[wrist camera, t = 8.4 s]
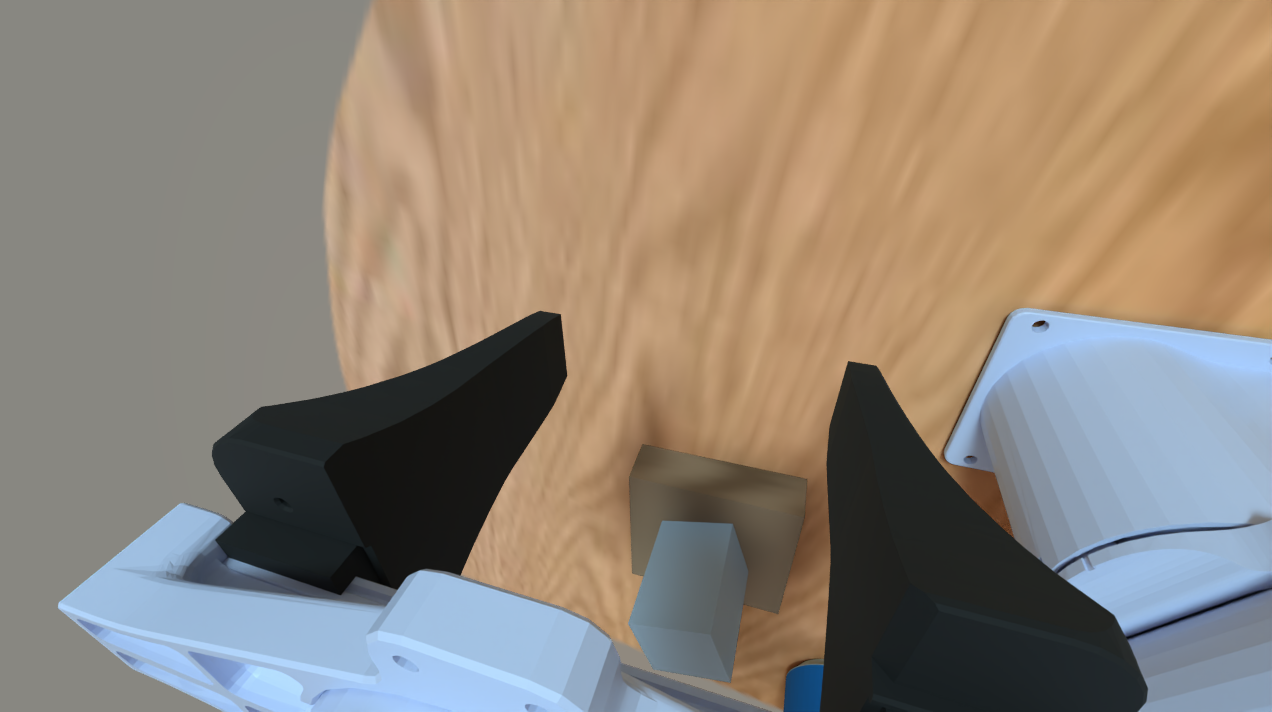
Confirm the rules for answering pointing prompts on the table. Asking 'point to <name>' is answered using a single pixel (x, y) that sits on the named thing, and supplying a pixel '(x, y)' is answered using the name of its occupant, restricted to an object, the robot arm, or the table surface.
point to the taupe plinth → (720, 513)
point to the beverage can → (804, 687)
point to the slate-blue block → (692, 600)
